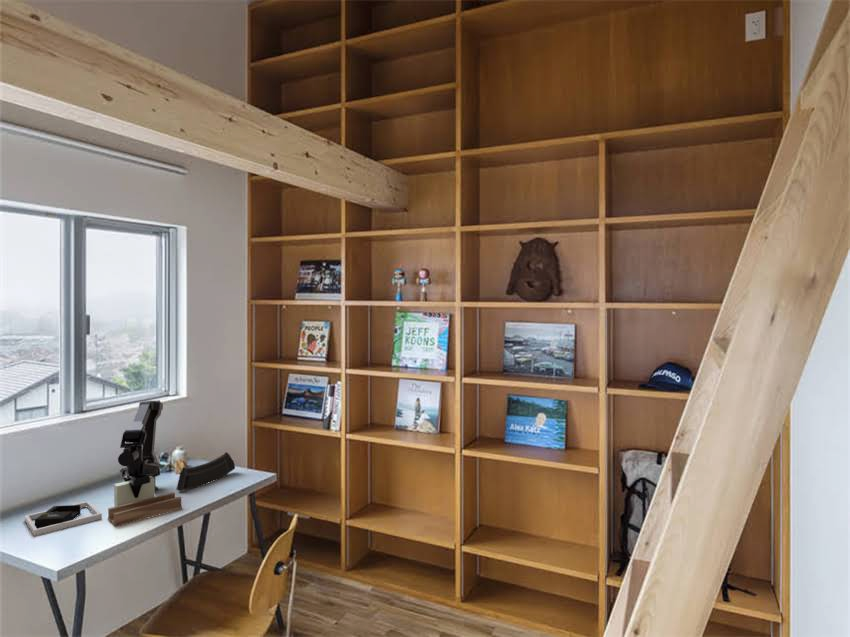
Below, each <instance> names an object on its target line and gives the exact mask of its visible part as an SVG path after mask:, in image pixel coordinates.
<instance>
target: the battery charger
mask: <svg viewBox="0 0 850 637" xmlns="http://www.w3.org/2000/svg"><path fill="white" fill-rule="evenodd" d="M47 510H48V511H47ZM47 510H45V511H46V512H45V513H43V514H42V515H41V516H39V517H38V518H36V519H35V520H34V525H35V527H36V528H37V529H38V528H42V527H46V526H50V525H54V524H58V523H62V522H66V521H70V520H74V518H75V517H76V516H77V515H78V516H80V515H81V509H80V505H73V504H69V505H66V504H65V505H53V506H52V507H51V508H49V509H47ZM79 514H80V515H79ZM78 516H77V517H78ZM77 517H76V518H77ZM76 518H75V519H76Z"/></svg>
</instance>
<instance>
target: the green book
mask: <svg viewBox="0 0 850 637" xmlns="http://www.w3.org/2000/svg"><path fill="white" fill-rule="evenodd" d="M149 477H150V483H147V484H143V485H142V486H141V489H140V492H139V496H138V498H135V497H134V495H133V492H132V490H131V488H130V485H129V483H131V481H126V482H124V481H122V482H117V483H114V484H113V485H114V486H113V487H114V488H113V490H114V494H113V496H114V501H113V502H114V506H113V507H116V506H120V505H124V504H128V503H132V502H136V501H140V500H145V499H149V498H153V497H156V494H155V492H156V490H155V484H156V479H155V480H154V477H152V476H149Z"/></svg>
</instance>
